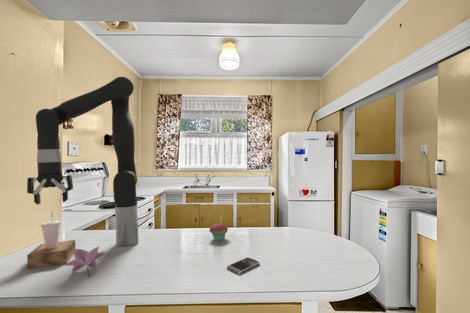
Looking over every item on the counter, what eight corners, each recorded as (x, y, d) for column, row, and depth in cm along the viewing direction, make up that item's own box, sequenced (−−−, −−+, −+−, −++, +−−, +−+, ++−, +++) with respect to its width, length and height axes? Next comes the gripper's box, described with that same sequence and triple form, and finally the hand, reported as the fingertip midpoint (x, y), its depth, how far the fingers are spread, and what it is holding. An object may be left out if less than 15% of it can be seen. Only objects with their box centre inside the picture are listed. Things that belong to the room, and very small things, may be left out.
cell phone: (260, 265, 87) (260, 261, 87) (238, 276, 79) (238, 272, 79) (248, 260, 91) (248, 256, 91) (225, 270, 84) (225, 266, 84)
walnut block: (75, 251, 103) (75, 239, 103) (66, 263, 92) (66, 249, 92) (41, 256, 99) (40, 244, 99) (27, 269, 88) (27, 255, 88)
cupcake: (231, 237, 116) (230, 212, 116) (221, 243, 109) (220, 216, 108) (216, 234, 120) (216, 210, 120) (205, 240, 113) (205, 214, 113)
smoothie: (50, 250, 92) (49, 213, 92) (36, 249, 93) (35, 213, 93) (65, 244, 98) (64, 209, 98) (52, 243, 99) (51, 209, 99)
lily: (114, 269, 88) (107, 243, 91) (101, 270, 78) (95, 241, 81) (78, 284, 85) (73, 257, 88) (60, 288, 75) (55, 257, 78)
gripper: (73, 160, 101) (75, 199, 101) (31, 162, 96) (33, 203, 96) (68, 160, 94) (70, 202, 94) (22, 162, 89) (24, 206, 89)
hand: (51, 202), depth 95 cm, fingers open, 8 cm apart
